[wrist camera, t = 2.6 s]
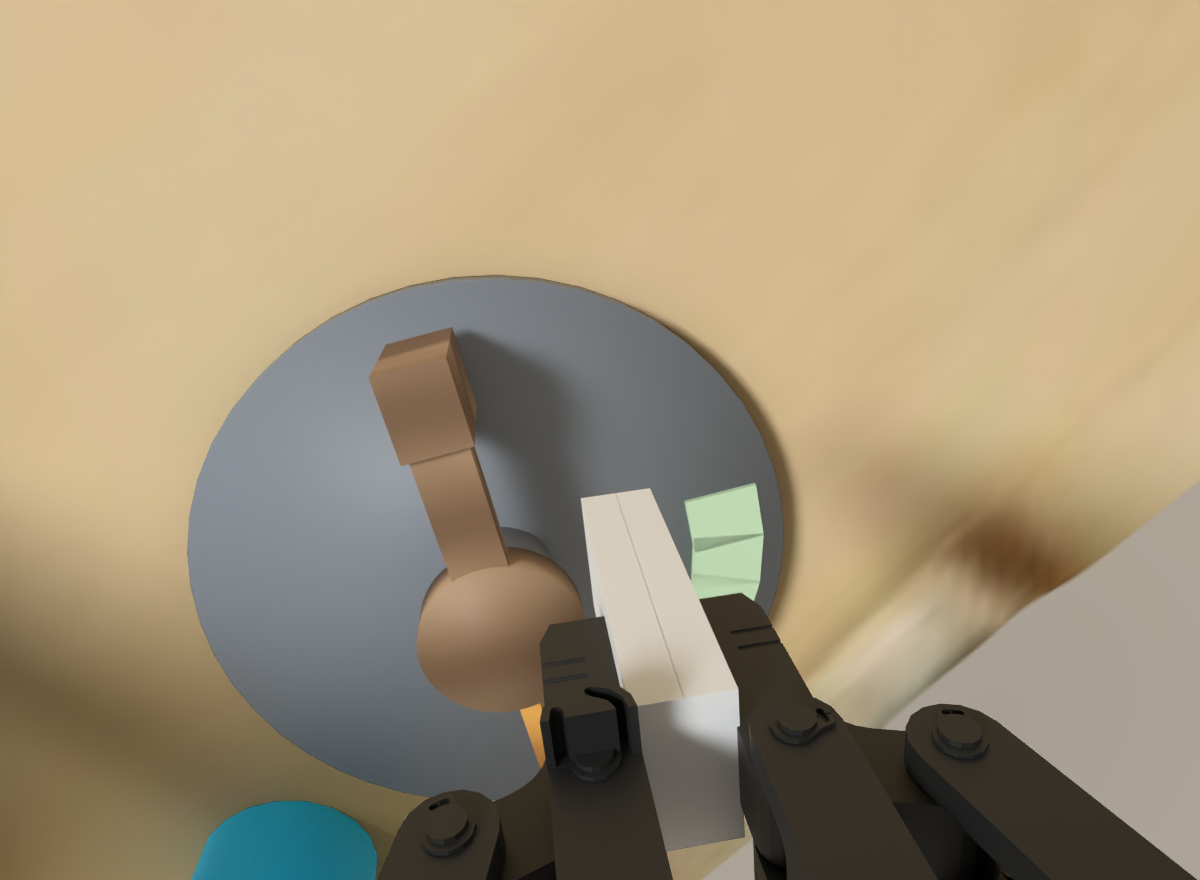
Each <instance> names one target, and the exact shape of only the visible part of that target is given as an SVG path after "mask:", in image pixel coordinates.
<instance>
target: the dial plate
mask: <svg viewBox="0 0 1200 880" xmlns="http://www.w3.org/2000/svg"><path fill="white" fill-rule="evenodd" d="M450 327H452V328H453V331H454V334H455V337H456V341H457V344H458V347H459V350H460V353H461V356H462V360H463V363H464V366H465V369H466V372H467V375H468V379H469V382H470V385H471V388H472V391H473V394H474V398H475V401H476V404H477V410H476V430H475V450H476V453H477V456H478V459H479V462H480V465H481V468H482V471H483V474H484V477H485V480H486V484H487V487H488V490H489V493H490V496H491V499H492V502H493V505H494V508H495V511H496V514H497V518H498V521H499V524H500V527H501V530H502V533H503V536H504V539H505V542H506V545H507V547H516V548H523V549H527V550H531V551H534V552H537V553H539V554H542V555H544V556H546V557H547V558H549V559H551V560H553V561H554V562H555V563H557V564H558V565H559V566H561V567H562V568H563V569H564V570H565V571H566V572H567V574H568V575H569V576H570V577H571V579H572V580H573V582H574V584H575V585H576V587H577V590H578V592H579V595H580V598H581V603H582V608H583V613H584V618H585V619H589V618H595V617H596V614H595V609H594V603H593V594H592V586H591V578H590V570H589V562H588V553H587V545H586V537H585V529H584V521H583V513H582V504H581V498H586V497H593V496H600V495H607V494H614V493H621V492H627V491H634V490H641V489H648V488H650V489H651V492H652V494H653V496H654V499H655V501H656V503H657V505H658V508H659V510H660V512H661V514H662V517H663V519H664V521H665V524H666V526H667V528H668V530H669V533H670V535H671V537H672V540H673V542H674V544H675V546H676V549H677V551H678V553H679V555H680V558H681V560H682V562H683V565H684V567H685V569H686V571H687V574H688V576H689V578H690V580H691V583H692V585H693V587H694V590H695V592H696V594H697V596H698V599H703V598H709V597H716V596H722V595H728V594H735V593H743V594H744V595H746V596H747V597H748V598H750V599H751V600H753V601H754V602H756V603H757V604H758V605H760V606H761V607H762V609H763V610H764V612H765V614H766V616H767V617H768V615H769V612H770V609H771V606H772V603H773V600H774V597H775V595H776V590H777V585H778V580H779V575H780V570H781V565H782V552H783V534H784V528H783V517H782V505H781V496H780V492H779V488H778V484H777V479H776V475H775V471H774V467H773V464H772V461H771V459H770V456H769V454H768V451H767V449H766V446H765V444H764V441H763V439H762V436H761V434H760V432H759V430H758V428H757V427H756V425H755V423H754V422H753V420H752V418H751V416H750V415H749V413H748V411H747V410H746V408H745V406H744V404H743V403H742V401H741V400H740V399H739V398H738V396H737V395H736V394H735V393H734V391H733V390H732V389H731V388H730V386H729V385H728V384H727V383H726V381H725V380H724V379H723V378H722V376H721V375H720V374H719V373H718V372H717V371H716V370H715V369H714V368H713V367H712V366H711V365H710V364H709V363H708V362H707V361H706V360H705V359H704V358H703V357H702V356H700V355H699V354H698V353H697V352H696V351H695V350H694V349H693V348H692V347H691V346H690V345H689V344H688V343H687V342H685V341H684V340H683V339H682V338H680V337H679V336H677V335H676V334H675V333H673V332H672V331H670V330H669V329H667V328H666V327H665V326H663V325H662V324H660V323H659V322H657V321H656V320H655V319H653V318H651V317H649V316H647V315H645V314H644V313H642V312H640V311H638V310H636V309H634V308H632V307H630V306H628V305H626V304H624V303H622V302H620V301H618V300H616V299H613V298H610V297H607V296H604V295H601V294H599V293H596V292H593V291H590V290H587V289H584V288H582V287H579V286H574V285H569V284H564V283H559V282H555V281H550V280H545V279H540V278H530V277H517V276H504V275H485V276H468V277H452V278H447V279H441V280H436V281H431V282H426V283H421V284H415V285H410V286H407V287H404V288H401V289H398V290H395V291H392V292H389V293H386V294H383V295H380V296H377V297H374V298H371V299H369V300H366V301H364V302H362V303H360V304H358V305H356V306H354V307H352V308H350V309H348V310H346V311H344V312H342V313H340V314H338V315H336V316H334V317H332V318H330V319H329V320H327V321H326V322H324V323H323V324H321V325H320V326H318V327H317V328H316V329H314V330H313V331H311V332H310V333H308V334H307V335H305V336H304V337H302V338H301V339H299V340H298V341H296V342H295V343H294V344H293V345H292V346H291V347H290V348H289V349H288V350H287V351H285V352H284V353H283V354H282V355H281V356H280V357H279V358H278V359H277V360H276V361H274V362H273V363H272V364H271V365H270V366H269V367H268V368H267V369H266V370H265V371H264V372H263V373H262V374H261V375H260V376H259V377H258V378H257V379H256V380H255V382H254V383H253V384H252V385H251V387H250V388H249V389H248V390H247V391H246V393H245V394H244V395H243V396H242V398H241V399H240V400H239V401H238V402H237V404H236V405H235V406H234V407H233V409H232V410H231V412H230V413H229V415H228V417H227V418H226V420H225V422H224V424H223V425H222V427H221V429H220V430H219V432H218V434H217V435H216V437H215V439H214V440H213V442H212V444H211V446H210V449H209V452H208V454H207V457H206V459H205V462H204V464H203V467H202V469H201V472H200V474H199V477H198V479H197V484H196V488H195V493H194V497H193V502H192V506H191V511H190V515H189V531H188V548H187V555H188V565H189V574H190V584H191V590H192V594H193V598H194V602H195V605H196V609H197V613H198V617H199V621H200V624H201V626H202V628H203V630H204V633H205V635H206V637H207V640H208V642H209V644H210V647H211V649H212V651H213V653H214V655H215V657H216V658H217V660H218V662H219V663H220V665H221V667H222V668H223V670H224V671H225V673H226V675H227V676H228V678H229V679H230V681H231V683H232V684H233V685H234V686H235V688H236V689H237V690H238V691H239V692H240V694H241V695H242V696H243V697H244V698H245V700H246V701H247V702H248V703H249V704H250V706H251V707H252V708H253V709H254V710H255V711H256V712H257V713H258V714H259V715H260V716H261V717H262V718H263V719H264V720H266V721H267V722H268V723H269V724H270V725H271V726H272V727H273V728H274V729H275V730H276V731H277V732H279V733H280V734H281V735H282V736H284V737H285V738H287V739H288V740H289V741H291V742H292V743H294V744H295V745H296V746H298V747H299V748H301V749H302V750H304V751H305V752H306V753H308V754H310V755H311V756H313V757H315V758H317V759H319V760H321V761H322V762H324V763H326V764H328V765H330V766H332V767H333V768H335V769H337V770H339V771H342V772H344V773H347V774H349V775H351V776H354V777H356V778H359V779H361V780H364V781H366V782H369V783H372V784H375V785H379V786H382V787H386V788H389V789H393V790H396V791H400V792H403V793H409V794H415V795H421V796H426V797H434V796H436V795H438V794H440V793H443V792H448V791H455V790H462V789H463V790H468V791H474V792H479V793H481V794H483V795H484V796H485V797H487V798H488V799H490V800H499V799H501V798H503V797H505V796H507V795H509V794H511V793H513V792H515V791H517V790H518V789H520V788H522V787H524V786H525V785H526V784H527V783H528V782H529V781H531V780H532V779H533V778H534V777H535V776H536V775H537V773H538V772H539V770H540V766H539V763H538V760H537V757H536V754H535V752H534V749H533V746H532V743H531V740H530V737H529V734H528V731H527V729H526V726H525V723H524V720H523V717H522V714H521V711H520V710H517V711H510V712H485V711H479V710H474V709H470V708H467V707H464V706H462V705H459V704H457V703H455V702H453V701H451V700H450V699H448V698H447V697H445V696H444V695H442V694H441V693H440V692H439V691H437V690H436V688H435V687H434V686H433V685H432V684H431V683H430V682H429V680H428V679H427V677H426V676H425V674H424V672H423V670H422V668H421V666H420V663H419V660H418V655H417V633H418V626H419V620H420V613H421V607H422V603H423V600H424V597H425V594H426V592H427V590H428V588H429V586H430V585H431V583H432V582H433V581H434V579H435V578H436V577H437V576H438V575H439V573H440V572H441V571H442V570H444V569H445V568H446V564H445V562H444V559H443V556H442V553H441V551H440V548H439V545H438V542H437V540H436V537H435V534H434V531H433V529H432V526H431V523H430V520H429V518H428V515H427V512H426V509H425V506H424V504H423V501H422V498H421V495H420V493H419V490H418V487H417V484H416V482H415V479H414V476H413V473H412V471H411V468H410V465H409V464H408V465H404V466H401V465H400V463H399V460H398V457H397V454H396V452H395V449H394V446H393V444H392V441H391V438H390V435H389V433H388V430H387V427H386V425H385V422H384V419H383V416H382V414H381V411H380V408H379V405H378V403H377V400H376V397H375V395H374V392H373V389H372V386H371V384H370V381H369V376H370V374H371V372H372V370H373V368H374V366H375V364H376V363H377V361H378V359H379V357H380V355H381V353H382V351H383V349H384V347H385V345H386V344H389V343H393V342H397V341H401V340H405V339H408V338H412V337H416V336H420V335H424V334H427V333H431V332H435V331H439V330H443V329H446V328H450ZM542 704H543V707H544V706H545V705H544V701H543V702H542Z"/></svg>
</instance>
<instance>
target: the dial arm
mask: <svg viewBox="0 0 1200 880" xmlns="http://www.w3.org/2000/svg"><path fill="white" fill-rule="evenodd" d="M369 381H370V384H371V386H372V389H373V392H374V395H375V397H376V400H377V403H378V405H379V408H380V411H381V414H382V416H383V419H384V422H385V425H386V427H387V430H388V433H389V435H390V438H391V441H392V444H393V446H394V449H395V452H396V454H397V457H398V460H399V463H400V465H401V466H404V465H408V464H409V465H410V468H411V471H412V473H413V476H414V479H415V482H416V484H417V487H418V490H419V493H420V495H421V498H422V501H423V504H424V506H425V509H426V512H427V515H428V518H429V520H430V523H431V526H432V529H433V531H434V534H435V537H436V540H437V542H438V545H439V548H440V551H441V553H442V556H443V559H444V562H445V564H446V568H445V569H444V570H442V571H441V572H440V573H439V575H438V576H437V577H436V578H435V579H434V581H433V582H432V583H431V585H430V586H429V588H428V590H427V592H426V594H425V597H424V600H423V603H422V607H421V613H420V620H419V626H418V633H417V655H418V660H419V663H420V666H421V668H422V670H423V672H424V674H425V676H426V677H427V679H428V680H429V682H430V683H431V684H432V685H433V686H434V687H435V688H436V690H437V691H439V692H440V693H441V694H442V695H444V696H445V697H447V698H448V699H450V700H451V701H453V702H455V703H457V704H459V705H462V706H464V707H467V708H470V709H474V710H479V711H485V712H510V711H517V710H520V711H521V714H522V717H523V720H524V723H525V726H526V729H527V731H528V734H529V737H530V740H531V743H532V746H533V749H534V752H535V754H536V757H537V760H538V763H539V766H540V769H541V768H542V766H543V764H544V761H545V759H546V758H545V752H544V746H543V740H542V734H541V728H540V717H541V712H542V708H543V704H542V702H543V701H544V693H543V681H542V669H541V668H542V667H541V657H540V645H539V644H540V642H541V640H542V638H543V636H544V634H545V632H546V631H547V629H548V627H549V625H551V624H557V623H563V622H570V621H576V620H582V619H585V618H584V613H583V608H582V603H581V598H580V595H579V592H578V590H577V587H576V585H575V584H574V582H573V580H572V579H571V577H570V576H569V575H568V574H567V572H566V571H565V570H564V569H563V568H562V567H561V566H559V565H558V564H557V563H555V562H554V561H553V560H551V559H549V558H547V557H546V556H544V555H542V554H539V553H537V552H534V551H531V550H527V549H523V548H516V547H507V545H506V542H505V539H504V536H503V533H502V530H501V527H500V524H499V521H498V518H497V514H496V511H495V508H494V505H493V502H492V499H491V496H490V493H489V490H488V487H487V484H486V480H485V477H484V474H483V471H482V468H481V465H480V462H479V459H478V456H477V453H476V450H475V430H476V410H477V404H476V401H475V398H474V394H473V391H472V388H471V385H470V382H469V379H468V375H467V372H466V369H465V366H464V363H463V360H462V356H461V353H460V350H459V347H458V344H457V341H456V337H455V334H454V331H453V328H452V327H450V328H446V329H443V330H439V331H435V332H431V333H427V334H424V335H420V336H416V337H412V338H408V339H405V340H401V341H397V342H393V343H389V344H386V345H385V347H384V349H383V351H382V353H381V355H380V357H379V359H378V361H377V363H376V364H375V366H374V368H373V370H372V372H371V374H370V376H369Z"/></svg>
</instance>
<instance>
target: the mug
mask: <svg viewBox="0 0 1200 880" xmlns="http://www.w3.org/2000/svg"><path fill="white" fill-rule="evenodd" d="M376 870H377V853H376V850H375V848H374V845H373V843H372V840H371V838H370V836H369V835H368V834H367V833H366V832H365V831H364V829H363V828H362V827H361V826H360V825H359V824H358V823H357V822H356V821H355V820H354V819H352V818H350V817H348V816H346V815H345V814H343V813H341V812H339V811H337V810H335V809H334V808H331V807H327V806H323V805H319V804H315V803H311V802H307V801H275V802H270V803H266V804H262V805H258V806H253V807H249V808H247V809H245V810H243V811H241V812H240V813H238V814H236V815H234V816H232V817H230V818H228V819H226V820H225V821H224V822H223V823H222V824H221V825H220V826H219V827H218V828H217V829H216V830H215V831H214V832H213V833H212V834H211V835H210V836H209V838H208V840H207V843H206V845H205V847H204V850H203V852H202V855H201V857H200V860H199V862H198V864H197V867H196V869H195V872H194V874H193V877H192V879H191V880H375V879H376Z"/></svg>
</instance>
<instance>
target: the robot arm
mask: <svg viewBox="0 0 1200 880" xmlns="http://www.w3.org/2000/svg"><path fill="white" fill-rule="evenodd" d="M581 504H582V513H583V521H584V529H585V537H586V545H587V553H588V562H589V570H590V578H591V586H592V594H593V603H594V609H595V614H596V617H595V618H589V619H582V620H576V621H570V622H563V623H557V624H551V625H549V627H548V629H547V631H546V632H545V634H544V636H543V638H542V640H541V642H540V644H539V645H540V657H541V667H542V668H541V669H542V681H543V693H544V705H545V706H544V707H543V708H542V712H541V717H540V728H541V734H542V740H543V746H544V752H545V758H546V759H545V761H544V764H543V766H542V768H541V769H540V770H539V772H538V773H537V775H536V776H535V777H534V778H533V779H532V780H531V781H529V782H528V783H527V784H526V785H525V786H524V787H522V788H520V789H518V790H517V791H515V792H513V793H511V794H509V795H507V796H505V797H503V798H501V799H499V800H496V801H494V802H493V801H491V800H490V799H488V798H487V797H485V796H484V795H483V794H481V793H479V792H474V791H468V790H463V789H462V790H455V791H448V792H443V793H440V794H438V795H436V796H434V797H432V798H429V799H427V800H425V801H424V802H422V803H421V804H420V805H419V806H418V807H416V808H415V809H414V810H413V811H412V812H410V813H409V815H408V816H407V818H406V819H405V821H404V822H403V824H402V825H401V827H400V829H399V830H398V833H397V835H396V837H395V840H394V842H393V845H392V847H391V849H390V852H389V854H388V857H387V859H386V861H385V864H384V866H383V869H382V871H381V873H380V876H379V878H378V880H673V878H672V874H671V870H670V866H669V861H668V857H667V853H666V851H671V850H677V849H682V848H688V847H693V846H699V845H704V844H710V843H715V842H720V841H726V840H731V839H737V838H742V837H745V834H744V815H745V818H746V820H747V823H748V826H749V829H750V831H751V834H752V837H753V845H754V874H755V880H1197V879H1195V878H1194V877H1193V876H1192V875H1191V874H1189V873H1188V872H1187V871H1185V870H1184V869H1183V868H1182V867H1180V866H1179V865H1178V864H1177V863H1175V862H1174V861H1173V860H1171V859H1170V858H1169V857H1168V856H1166V855H1165V854H1164V853H1163V852H1161V851H1160V850H1159V849H1158V848H1156V847H1155V846H1154V845H1153V844H1151V843H1150V842H1149V841H1148V840H1146V839H1145V838H1144V837H1142V836H1141V835H1140V834H1139V833H1137V832H1136V831H1135V830H1134V829H1132V828H1131V827H1130V826H1128V825H1127V824H1126V823H1125V822H1123V821H1122V820H1121V819H1119V818H1118V817H1117V816H1116V815H1114V814H1113V813H1112V812H1111V811H1110V810H1108V809H1107V808H1106V807H1104V806H1103V805H1102V804H1101V803H1099V802H1098V801H1097V800H1096V799H1094V798H1093V797H1092V796H1091V795H1089V794H1088V793H1087V792H1085V791H1084V790H1083V789H1082V788H1080V787H1079V786H1078V785H1077V784H1075V783H1074V782H1073V781H1072V780H1070V779H1069V778H1068V777H1066V776H1065V775H1064V774H1063V773H1061V772H1060V771H1059V770H1058V769H1056V768H1055V767H1054V766H1052V765H1051V764H1050V763H1049V762H1048V761H1046V760H1045V759H1044V758H1043V757H1041V756H1040V755H1039V754H1037V753H1036V752H1035V751H1034V750H1032V749H1031V748H1030V747H1028V746H1027V745H1026V744H1025V743H1023V742H1022V741H1021V740H1020V739H1018V738H1017V737H1016V736H1015V735H1013V734H1012V733H1011V732H1010V731H1008V730H1007V729H1006V728H1005V727H1003V726H1002V725H1001V724H1000V723H998V722H997V721H995V720H993V719H992V718H990V717H988V716H987V715H985V714H983V713H981V712H980V711H977V710H974V709H970V708H967V707H964V706H961V705H950V704H937V705H932V706H927V707H923V708H921V709H920V710H919V711H917V712H915V713H914V714H912V715H911V717H910V719H909V721H908V723H907V725H906V731H897V730H885V729H872V728H866V727H860V726H855V725H852V724H849V723H846V722H844V721H843V719H842V718H841V717H840V715H839V714H838V713H837V712H836V711H835V710H834V709H833V708H832V707H831V706H829V705H828V704H826V703H824V702H822V701H820V700H818V699H816V698H813V697H812V695H811V693H810V691H809V690H808V688H807V686H806V684H805V683H804V681H803V679H802V677H801V675H800V674H799V672H798V670H797V668H796V667H795V665H794V663H793V661H792V660H791V658H790V656H789V654H788V653H787V651H786V649H785V647H784V646H783V644H782V643H781V642H780V638H779V637H778V635H777V633H776V631H775V630H774V628H772V624H771V623H770V621H769V619H768V617H767V616H766V614H765V612H764V610H763V609H762V607H761V606H760V605H758V604H757V603H756V602H754V601H753V600H751V599H750V598H748V597H747V596H746V595H744V594H743V593H735V594H728V595H722V596H716V597H709V598H703V599H698V596H697V594H696V592H695V590H694V587H693V585H692V583H691V580H690V578H689V576H688V574H687V571H686V569H685V567H684V565H683V562H682V560H681V558H680V555H679V553H678V551H677V549H676V546H675V544H674V542H673V540H672V537H671V535H670V533H669V530H668V528H667V526H666V524H665V521H664V519H663V517H662V514H661V512H660V510H659V508H658V505H657V503H656V501H655V499H654V496H653V494H652V492H651V489H650V488H648V489H641V490H634V491H627V492H621V493H614V494H607V495H600V496H593V497H586V498H581Z"/></svg>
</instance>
